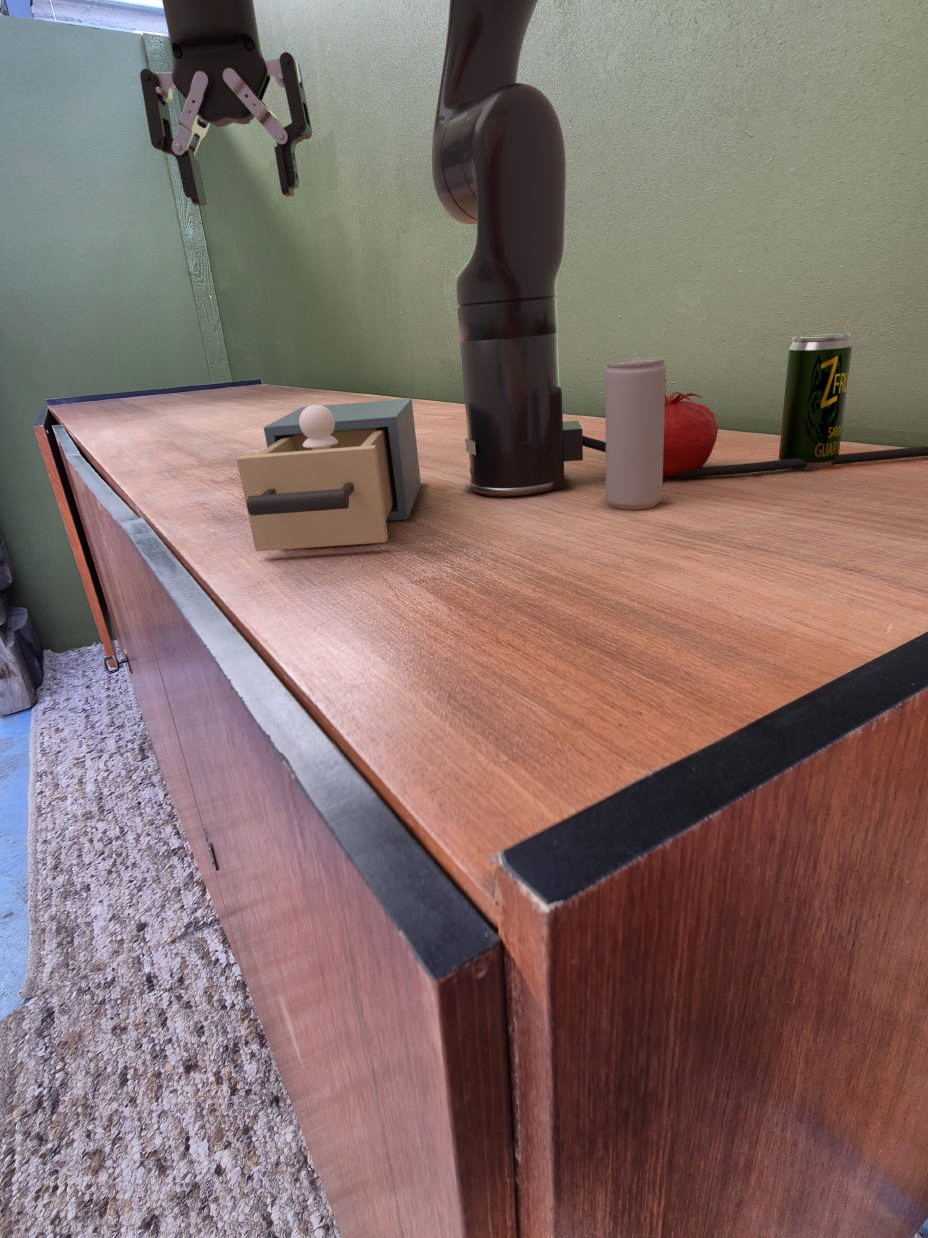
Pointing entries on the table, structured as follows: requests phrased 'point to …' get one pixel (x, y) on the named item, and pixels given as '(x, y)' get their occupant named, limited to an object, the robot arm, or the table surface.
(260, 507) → the drawer
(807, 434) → the green soda can
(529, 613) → the table surface
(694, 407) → the red round piece
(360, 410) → the cabinet
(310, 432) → the chess pawn
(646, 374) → the beverage can
